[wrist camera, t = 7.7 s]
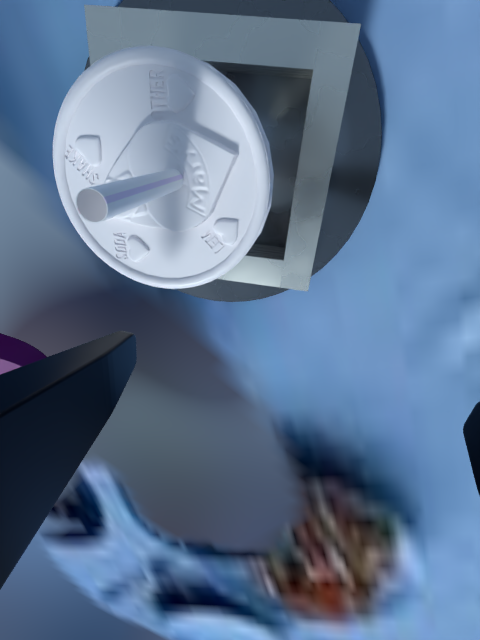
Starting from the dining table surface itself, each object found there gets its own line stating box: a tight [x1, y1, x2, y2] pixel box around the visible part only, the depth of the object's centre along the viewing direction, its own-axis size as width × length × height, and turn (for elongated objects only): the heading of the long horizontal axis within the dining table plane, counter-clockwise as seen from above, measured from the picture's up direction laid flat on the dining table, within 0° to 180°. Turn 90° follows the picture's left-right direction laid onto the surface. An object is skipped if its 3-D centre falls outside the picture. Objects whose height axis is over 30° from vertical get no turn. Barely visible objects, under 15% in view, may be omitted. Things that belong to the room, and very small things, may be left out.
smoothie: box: [53, 46, 274, 289], centre depth 12 cm, size 6×6×14 cm
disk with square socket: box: [84, 0, 382, 302], centre depth 17 cm, size 16×16×3 cm
